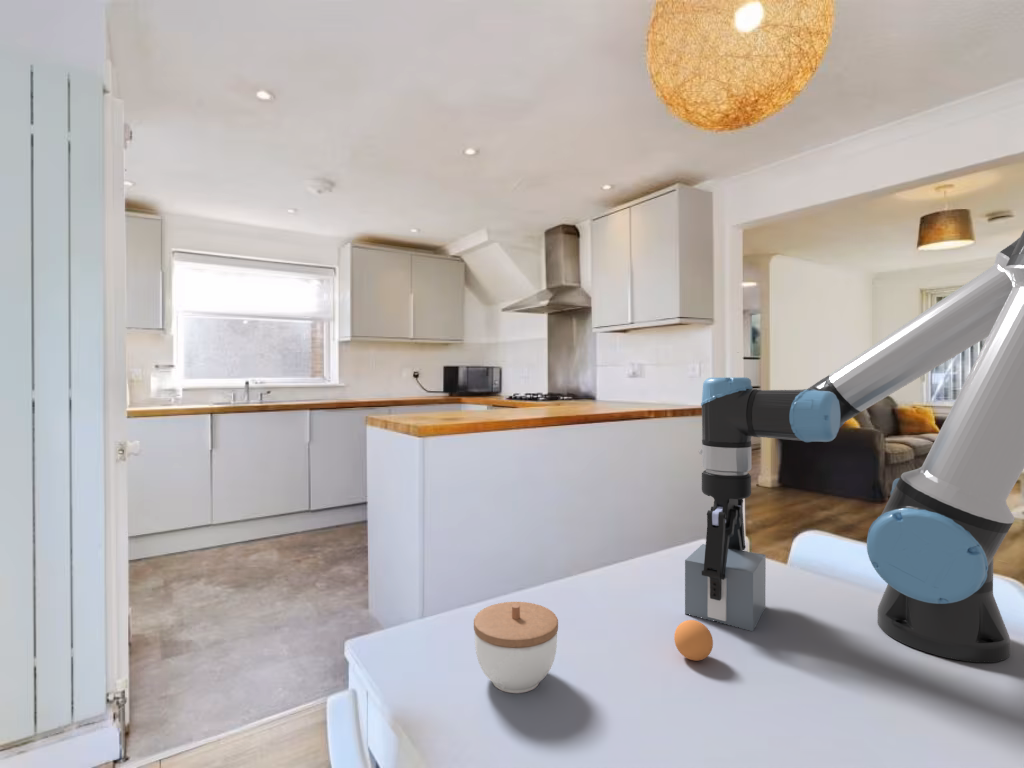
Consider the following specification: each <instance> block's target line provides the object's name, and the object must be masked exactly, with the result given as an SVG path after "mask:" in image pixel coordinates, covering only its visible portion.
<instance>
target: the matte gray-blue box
mask: <svg viewBox="0 0 1024 768" xmlns="http://www.w3.org/2000/svg"><path fill="white" fill-rule="evenodd" d="M705 548H706V543H701V544H700V546H699V547H697V548H696V549H695V550H694V551H693V552H692V553H691V554H690V555H689V556H688V557H686V558H685V560H684V614H685V615H686V614H690V615H693V616H692V617H694V616H697V617H696V618H698V617H702V618H705V619H704V620H706V619H709V620H708V621H710V620H714V621H717V622H716V623H718V622H720V623H719V624H722V623H724V624H723V625H726V624H728V625H727V626H730V625H732V626H731V627H734V626H736V627H735V628H738V627H739V628H738V629H742V630H746V631H751V632H754V630H755V629H756V628H757V627H756V626H757V624H758V623H759V620H760V618H761V617H762V615H763V613H764V611H765V609H766V578H767V577H766V575H767V574H766V570H767V569H766V565H767V563H766V557H767V556H766V554H763V553H759V552H758V553H757V552H751V551H746V550H743V551H741V550H735V549H729V548H728V554H727V562H726V570H725V578H727V620H726V621H722V620H718V619H714V618H710V617H708V577H707V576H703V575H702V571H703V570H704V560H705ZM712 569H713V568H712ZM714 570H716V569H714ZM690 615H689V616H690ZM702 618H701V619H702ZM714 621H713V622H714Z"/></svg>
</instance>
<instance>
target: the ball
mask: <svg viewBox="0 0 1024 768" xmlns="http://www.w3.org/2000/svg"><path fill="white" fill-rule="evenodd" d="M673 637H674V639H673V640H674V644H675V646H676V649H677V651H678V652H679V653H680V654H681V655H682V656H683V657H684V658H686V659H688V660H690V661H693V662H694V661H695V662H696V661H697V662H698V661H702V660H705V659H706V658H707V657H709V656H710V655H711V653H712V651H713V647H714V640H713V635H712V633H711V631H710V630H709V628H708V627H707V626H706V625H705V624H704V623H703V622H700V621H698V620H694V619H687V620H684V621H682V622H680V624H678V625H677V626H676V628H675V631H674V636H673Z"/></svg>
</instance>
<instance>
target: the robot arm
mask: <svg viewBox="0 0 1024 768" xmlns="http://www.w3.org/2000/svg"><path fill="white" fill-rule="evenodd" d="M984 339H985V342H984V344H983V346H982V348H981V350H980V351H979V353H978V355H977V357H976V359H975V361H974V363H973V366H972V367H971V369H970V371H969V373H968V374H967V376H966V378H965V381H964V383H963V385H962V387H961V389H960V391H959V392H958V395H957V397H956V399H955V400H954V402H953V405H952V407H951V408H950V410H949V412H948V414H947V416H946V418H945V420H944V422H943V423H942V426H941V428H940V429H939V431H938V434H937V436H936V438H935V440H934V442H933V444H932V446H931V448H930V450H929V451H928V454H926V458H925V459H924V461H923V462H922V463H923V464H922V465H921V466H920V467H918V468H916V469H913V470H908V471H905V472H902V474H900V477H897V478H895V479H894V480H893V481H892V484H891V485H892V486H891V491H890V494H889V495H890V496H889V498H888V500H887V501H886V505H885V507H884V508H883V510H882V513H881V514H880V515H879V516H877V518H876V519H875V520H873V521H872V523H870V524H871V525H870V526H869V528H868V531H867V535H866V536H867V538H866V552H867V555H868V559H869V561H870V563H871V565H872V567H873V568H874V570H875V571H876V573H877V575H879V577H880V578H881V579H882V580H883V581H884V582H885V583H886V584H887V586H886V588H885V590H884V592H883V595H882V596H881V599H880V602H879V605H878V606H877V625H878V627H879V629H881V630H882V631H883V632H884V633H885V634H886V635H888V636H889V637H891V638H893V639H894V640H896V641H898V642H900V643H901V644H904V645H907V646H909V647H911V648H914V649H916V650H918V651H919V650H920V651H921V652H925V653H928V654H931V655H934V656H939V657H941V658H947V659H950V660H951V659H952V660H958V661H963V662H969V663H997V662H1001V661H1004V660H1007V659H1008V658H1009V656H1010V654H1011V638H1010V635H1009V634H1010V633H1009V632H1008V630H1007V627H1006V624H1005V622H1004V621H1005V620H1004V619H1003V616H1002V614H1001V612H1000V609H999V607H998V604H997V601H996V599H995V596H994V556H996V554H997V552H998V550H999V548H1000V546H1001V544H1002V543H1003V542H1004V540H1005V537H1006V536H1007V534H1008V532H1009V530H1010V529H1011V527H1012V525H1013V524H1014V522H1015V520H1016V519H1015V518H1016V517H1015V516H1014V514H1013V513H1012V511H1011V509H1010V507H1009V506H1008V503H1007V499H1008V498H1009V496H1010V494H1011V492H1012V490H1013V489H1014V486H1015V485H1016V483H1017V482H1018V479H1019V478H1020V476H1021V474H1022V473H1023V471H1024V230H1023V231H1022V233H1021V235H1020V237H1018V238H1017V239H1016V240H1015V241H1013V242H1012V243H1011V244H1009V245H1008V246H1007V247H1005V248H1003V249H1002V250H1001V251H999V252H997V253H996V256H995V260H994V263H993V265H992V266H991V267H988V269H986V270H985V271H983V272H981V273H980V274H979V275H977V276H976V277H973V279H971V280H969V281H968V282H966V283H965V284H963V285H962V286H960V287H959V288H957V289H956V290H954V291H953V292H951V293H949V294H948V295H947V296H945V297H944V298H942V299H941V300H939V301H937V303H935V304H932V305H931V306H930V307H929V308H927V309H926V310H924V311H923V312H921V313H919V314H918V315H916V316H915V317H914V318H912V319H911V320H909V321H908V322H906V323H904V324H903V325H902V326H900V327H898V328H897V329H896V330H894V331H892V332H891V333H890V334H888V335H887V336H885V337H884V338H882V339H881V340H879V341H877V342H876V343H874V344H873V345H872V346H870V347H868V348H867V349H866V350H864V351H863V352H861V353H859V354H858V355H856V356H855V357H854V358H852V359H851V360H849V361H847V362H845V363H844V364H843V365H841V366H840V367H838V368H837V369H835V370H834V371H833V372H831V373H829V374H828V375H827V376H826V377H823V378H822V379H820V380H819V381H817V382H815V383H814V384H813V385H811V386H810V387H808V388H804V389H757V388H753V386H752V379H750V378H749V377H740V376H739V377H738V376H737V377H736V376H735V377H732V376H731V377H708V378H706V379H705V380H703V383H702V395H701V403H700V407H701V436H702V437H701V448H700V449H699V450H698V453H699V455H701V467H702V468H703V469H704V470H703V471H702V472H701V492H702V493H703V495H705V496H708V497H712V498H713V500H714V501H713V505H712V506H711V507H710V510H707V513H706V524H707V526H706V536H705V537H706V539H705V544H706V548H705V560H704V570H703V571H702V575H703V576H707V577H708V617H710V618H714V619H718V620H722V621H726V620H727V578H725V570H726V562H727V554H728V548H729V549H735V550H741V551H746V540H745V526H744V525H745V524H744V512H743V511H744V510H743V507H744V506H743V505H744V499H747V498H749V497H751V495H752V475H751V473H749V472H750V471H751V470H752V466H753V465H752V461H753V460H752V438H767V439H769V438H770V439H778V440H779V439H780V440H789V441H790V440H791V441H800V442H801V441H802V442H804V443H812V442H815V443H816V442H818V443H819V442H823V443H827V442H828V443H829V442H832V441H833V440H834V439H836V437H837V435H838V433H839V430H840V428H841V427H842V426H843V425H844V424H845V422H847V421H850V420H851V419H853V418H854V417H856V416H857V415H859V414H860V413H861V412H863V411H865V410H867V409H868V408H870V407H872V406H873V405H875V404H877V403H878V402H880V401H883V399H885V398H887V397H889V396H890V395H892V394H894V393H895V392H897V391H899V390H900V389H902V388H904V387H905V386H907V385H910V383H912V382H914V381H916V380H917V379H919V378H921V377H922V376H924V375H926V374H927V373H929V372H931V371H932V370H934V369H935V368H936V369H937V368H938V367H939V366H941V365H943V364H944V363H946V362H948V361H950V360H952V359H953V358H954V357H956V356H957V355H959V354H962V352H964V351H966V350H968V349H970V348H971V347H973V346H975V345H976V344H978V343H979V342H982V341H983V340H984ZM712 568H713V569H712ZM714 569H716V570H714Z"/></svg>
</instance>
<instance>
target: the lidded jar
mask: <svg viewBox="0 0 1024 768" xmlns="http://www.w3.org/2000/svg"><path fill="white" fill-rule="evenodd" d="M558 630H559V619H558V616H557V615H556V614H555V613H554V612H553V611H552V610H551V609H549V608H547V607H546V606H543V605H540V604H538V603H537V604H536V603H534V602H533V603H532V602H525V601H507V602H506V601H505V602H499V603H494V604H492V605H489V606H486V607H484V608H483V609H481V610H480V611H479V612H477V614H476V615H475V616H474V619H473V631H474V646H475V647H474V649H475V654H476V657H477V661H478V664H479V666H480V669H481V670H482V672H483V674H484V675H485V676H486V677H487V679H488V680H489V681H490V682H492V685H493V686H494V687H495V688H496V689H498V690H499V691H502V692H505V693H508V694H525V693H528V692H530V691H533V690H535V689H536V688H537V687H538V686H539V685H540V683H541V682H542V681H543V680H544V678H546V677H547V676H548V674H549V673H550V670H551V669H552V667H553V665H554V661H555V658H556V653H557V647H558V632H559V631H558Z"/></svg>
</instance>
